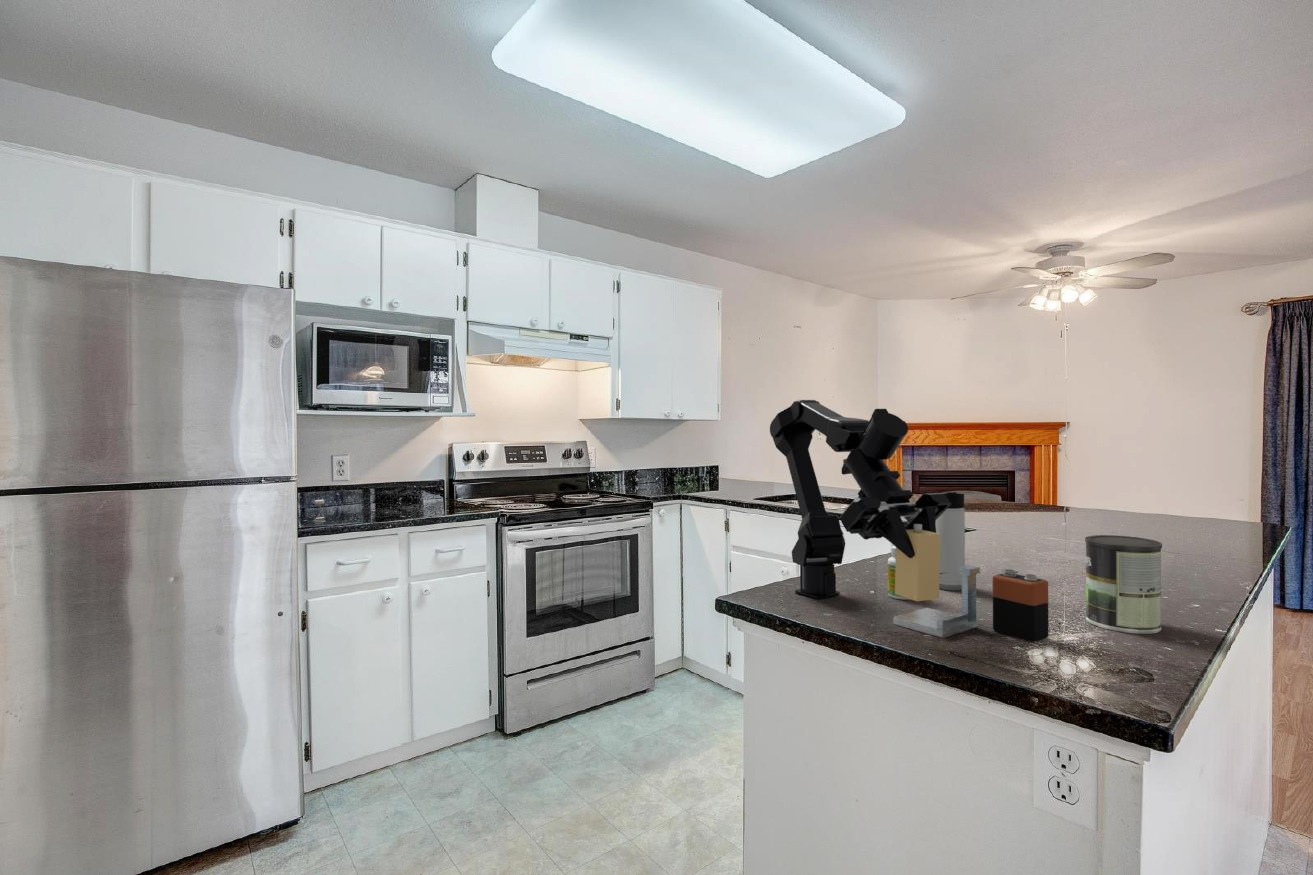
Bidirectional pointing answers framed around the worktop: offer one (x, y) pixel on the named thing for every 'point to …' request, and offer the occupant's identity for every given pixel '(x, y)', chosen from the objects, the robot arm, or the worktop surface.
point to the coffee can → (1123, 583)
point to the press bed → (942, 621)
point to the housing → (919, 566)
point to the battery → (1020, 605)
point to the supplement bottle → (893, 576)
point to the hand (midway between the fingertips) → (924, 555)
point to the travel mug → (952, 542)
